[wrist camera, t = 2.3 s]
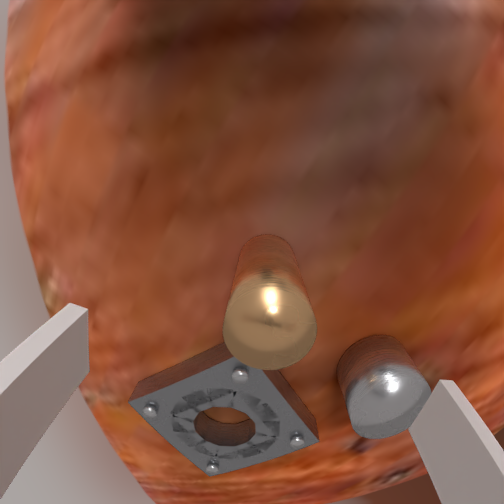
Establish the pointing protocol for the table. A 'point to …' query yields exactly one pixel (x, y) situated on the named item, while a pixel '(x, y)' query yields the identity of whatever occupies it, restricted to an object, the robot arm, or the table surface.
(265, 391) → the flange socket
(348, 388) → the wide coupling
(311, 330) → the brass peg
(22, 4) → the table surface
